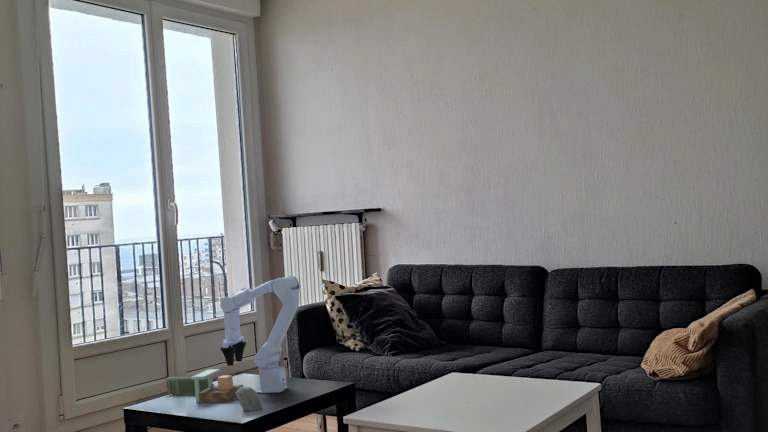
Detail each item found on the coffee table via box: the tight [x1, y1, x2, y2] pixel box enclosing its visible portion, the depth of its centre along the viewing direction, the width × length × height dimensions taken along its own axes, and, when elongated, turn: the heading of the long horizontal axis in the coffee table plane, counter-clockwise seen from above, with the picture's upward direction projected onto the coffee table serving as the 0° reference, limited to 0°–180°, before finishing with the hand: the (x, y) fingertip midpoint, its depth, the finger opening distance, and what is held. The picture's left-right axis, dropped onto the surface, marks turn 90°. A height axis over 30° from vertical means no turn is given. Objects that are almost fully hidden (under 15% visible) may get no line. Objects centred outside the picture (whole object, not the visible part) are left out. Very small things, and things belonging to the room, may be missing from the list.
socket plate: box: [198, 384, 244, 404], centre depth 292 cm, size 12×12×4 cm
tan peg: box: [217, 374, 234, 391], centre depth 291 cm, size 4×4×8 cm
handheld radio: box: [165, 375, 214, 395], centre depth 305 cm, size 7×3×25 cm
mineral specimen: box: [235, 386, 263, 412], centre depth 270 cm, size 7×9×8 cm
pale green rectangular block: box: [190, 368, 221, 404], centre depth 293 cm, size 5×13×10 cm, turn 165°
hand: (234, 363), depth 303 cm, fingers open, 7 cm apart
